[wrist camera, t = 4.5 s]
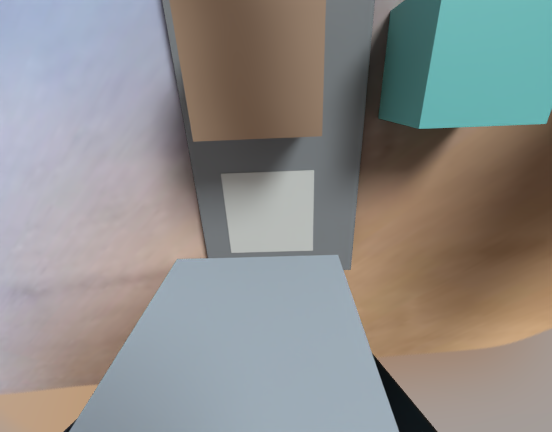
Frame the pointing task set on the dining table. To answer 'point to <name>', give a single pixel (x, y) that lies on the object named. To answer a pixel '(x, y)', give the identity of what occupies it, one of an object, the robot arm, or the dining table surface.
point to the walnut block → (251, 67)
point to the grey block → (245, 354)
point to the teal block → (468, 63)
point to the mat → (290, 161)
